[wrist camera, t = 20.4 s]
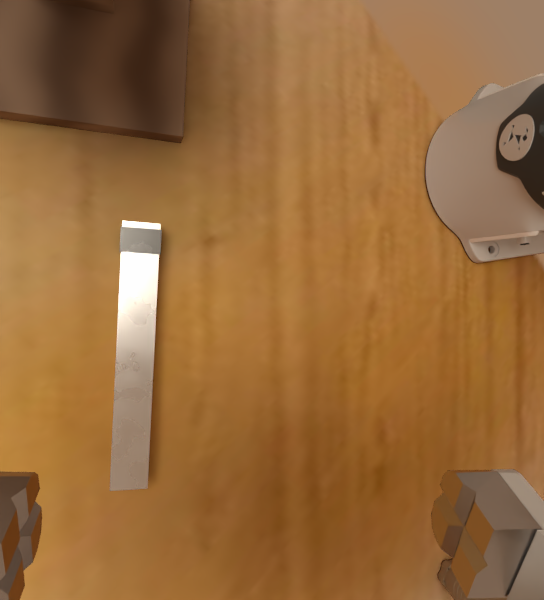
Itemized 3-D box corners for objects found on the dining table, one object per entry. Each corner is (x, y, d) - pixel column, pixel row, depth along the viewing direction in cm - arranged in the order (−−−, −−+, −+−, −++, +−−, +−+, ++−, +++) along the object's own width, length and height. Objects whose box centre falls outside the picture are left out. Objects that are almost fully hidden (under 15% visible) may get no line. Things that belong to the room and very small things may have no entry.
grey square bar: (159, 227, 43) (161, 223, 40) (147, 474, 44) (148, 489, 40) (121, 224, 42) (121, 220, 39) (109, 476, 43) (108, 492, 40)
